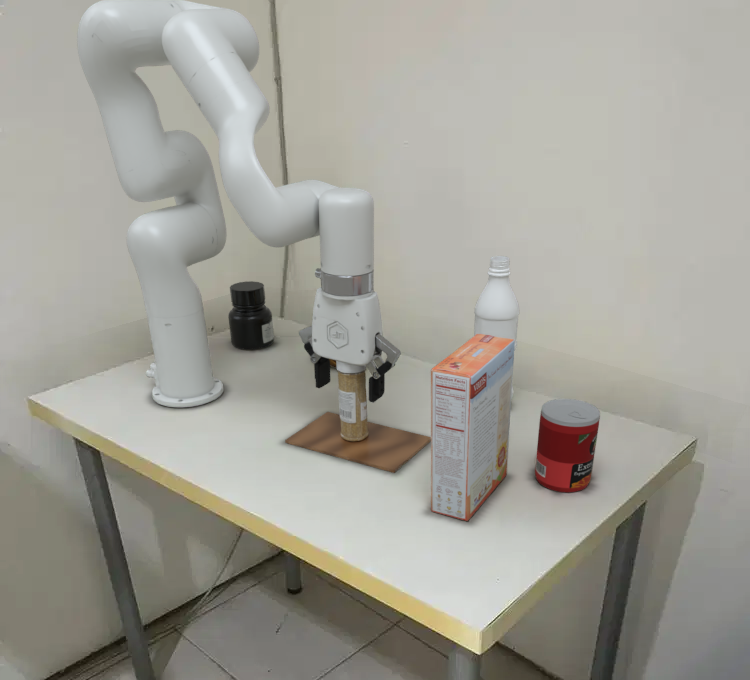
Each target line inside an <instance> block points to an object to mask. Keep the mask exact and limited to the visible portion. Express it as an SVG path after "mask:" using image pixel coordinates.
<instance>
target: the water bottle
mask: <svg viewBox="0 0 750 680" xmlns="http://www.w3.org/2000/svg"><path fill="white" fill-rule="evenodd" d="M510 262H511V261H510V257H509V256H504V255H494V256H491V257H490V259H489V268H488V271H487V275H488V278H487V282H486V285H485V286H484V288H483V289H482V291H481V292H480V294H479V297H477V298H478V299H477V300H476V302H475V306H474V312H473V313H474V325H473V336H475V335H476V334H484V335H490V336H494V337H501V338H508V339H514V340H515V346H514V352H515V351H516V349H517V348H518V347H517V346H518V340H517V339H518V328H519V327H518V326H519V325H518V324H519V315H520V305H519V301H518V299H517V296H516V294H515V292H514V290H513V288H512V285H511V282H510V276H511V273H512V272H511V271H510V270H511V268H510ZM513 396H514V387H513V385H512V395H511V401H512V399H513Z"/></svg>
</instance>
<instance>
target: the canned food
mask: <svg viewBox="0 0 750 680" xmlns="http://www.w3.org/2000/svg"><path fill="white" fill-rule="evenodd" d="M539 417H540V418H539V423H538V433H537V445H536V455H535V467H534V475H535V479H536V481H537V482H538V483H539V485H541V486H543V487H544V488H546V489H549V490H551V491H554V492H559V493H575V492H580V491H582V490H585V488H587V487H588V485H589V483H590V482H591V480H592V474H593V468H594V459H595V453H596V447H597V440H598V433H599V428H600V420H601V411H600V409H599V408H598V407H596V406H595V405H593V404H592V403H589V402H587V401H584V400H580V399H576V398H557V399H551V400H548V401H546V402H545V403H543V404H542V406H541V410H540V416H539Z"/></svg>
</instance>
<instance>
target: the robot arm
mask: <svg viewBox="0 0 750 680" xmlns="http://www.w3.org/2000/svg"><path fill="white" fill-rule="evenodd" d="M76 46H77V54H78V58H79V62H80V66H81V68H82V69H81V70H82V72H83V75H84V77H85V79H86V81H87V83H88V87H89V88H90V90H91V92H92V95H93V97H94V100H95V102H96V104H97V106H98V110H99V114H100V116H101V117H100V118H101V121H102V124H103V127H104V132H105V135H106V139H107V141H108V146H109V150H110V153H111V156H112V160H113V164H114V168H115V171H116V174H117V177H118V180H119V183H120V186H121V188H122V190H123V192H124V193H125V195H126V196H127V197H128V198H130V199H131V200H132V201H134V202H138V203H150V202H157V201H161V200H165V199H169V198H174V201H175V205H171V206H167V207H163V208H159V209H156V210H151V211H148V212H145V213H144V214H141V215H139V216H138V217H136V218H135V219H134V220H133V221H132V222H131V224H130V225H129V226H128V229H127V231H126V238H125V239H126V246H127V251H128V253H129V256H130V259H131V261H132V264H133V266H134V269H135V272H136V274H137V278H138V282H139V285H140V290H141V294H142V299H143V304H144V308H145V314H146V317H147V318H146V319H147V325H148V329H149V335H150V340H151V346H152V352H153V357H154V362H151V364H150V366H149V369H147V370H146V371H145V376H146V377H147V378H151V379H154V382H155V386H154V387H153V388H152V390H151V397H152V399H153V401H154V402H155V403H156V404H159V405H161V406H164V407H168V408H191V407H197V406H202V405H205V404H207V403H211V402H212V401H214V400H217V399H218V398H220V397H221V395H222V394H224V393H223V392H224V383H223V381H222V380H220V379H219V378H218V377H215V376H214V373H213V368H212V366H213V365H212V360H211V352H210V346H209V340H208V333H207V324H206V318H205V312H204V304H203V298H202V293H201V291H200V288H199V286H198V284H197V283H196V281H195V280H194V278H192V276H191V274H190V272H189V270H188V267H190V266H192V265H196V264H197V263H202V262H204V261H206V260H210V259H211V258H215V257H216V256H218V255H219V254H220V253H222V251H223V249H224V247H225V246H226V243H227V236H228V235H227V223H226V219H225V213H224V210H223V206H222V200H221V196H220V191H219V188H218V184H217V183H218V182H217V178H216V173H215V170H214V166H213V162H212V159H211V156H210V154H209V152H208V150H207V148H206V146H205V145H204V144H203V142H202V141H201V140H200V139H199V138H198V137H197V136H196V135H194V134H193V133H191V132H189V131H186V130H180V129H175V130H173V129H172V130H167V131H165V129H164V126H163V124H162V120H161V116H160V113H159V112H160V111H159V107H158V103H157V101H156V99H155V97H154V95H153V93H152V92H151V90H150V88H149V87H148V85H147V84H146V83H145V81H144V80H143V79H142V78H141V77H140V76H139V75H138V74H137V73H136V70H137V69H138V68H144V67H145V68H146V67H163V66H171V68H172V69H173V71H174V72H175V74H176V76H177V77H178V78H179V80H180V82H181V83H182V85H183V86H184V88H185V89H186V91H187V92H188V94H189V95H190V97H191V98H192V100H193V101H194V103H195V104H196V106H197V108H198V109H199V111H200V112H201V114H202V115H203V116H204V118H205V121H207V123H208V124H209V126H210V127H211V129H212V130H213V132H214V133H215V135H216V137H217V139H218V164H219V171H220V176H221V180H222V185H223V188H224V191H225V193H226V196H227V198H228V199H229V202H230V203H231V204H232V206H233V208H234V209H235V210H236V213H237V214H238V215H239V217H240V219H241V220H242V221H243V223H244V224H245V226H246V227H247V228H248V229H249V231H250V233H252V235H254V236H255V238H257V240H259V241H260V242H261V243H262V244H264V245H266V246H268V247H271V248H283V247H287V246H291V245H294V244H296V243H299V242H302V241H304V240H308V239H312V238H316V237H319V254H320V255H319V256H320V257H319V259H320V268H319V267H318V268H316V269H315V271H314V276H315V277H316V278H317V279H320V287H318V288H317V289H316V292H315V296H314V302H313V308H312V319H311V322H312V324H311V325H309V326H307V327H304V328H302V329H300V330H299V331H298V335H299V337H300V339H301V342H302V344H303V349H304V350H305V351H306V354H308V356H309V359H310V362H311V363H312V364H313V368H314V369H313V370H314V380H315V388H316V389H322V388H323V387H325V386H326V385H328V384H330V383H331V366H330V360H329V359H332V360H336V361H340V362H344V363H348V364H353V365H357V366H365V365H366V370H368V371H369V374H370V375H371V376H369V378H368V401H369V402H370V403H376V402H377V401H378V400H380V399H381V398H382V397H383V395H384V394H385V388H386V387H385V384H386V383H385V379H386V377H385V374H387V373H388V372H389V371H390V370H391V369H393V368H394V367H395V366H396V363H397V361H398V360H399V358H400V357H401V354H402V351H401V350H400V349H399V348H398V347H397V346H395V345H394V344H393V343H392V342H391V341H389V340H388V339H387V338H385V337H384V336H383V335H384V334H383V333H384V332H383V319H382V311H381V305H380V299H379V294H378V292H377V291H375V283H374V282H375V201H374V198H373V196H372V194H371V193H370V192H369V191H368V190H366V189H362V188H358V187H340V186H337V185H334V184H331V183H329V182H325V181H323V180H319V179H303V180H301V181H296V182H292V183H287V184H284V185H280V186H275V185H274V183H273V182H272V181H271V179H270V178H269V176H268V174H267V173H266V171H265V170H264V168H263V166H262V164H261V162H260V161H259V158H258V155H257V152H256V149H255V135H256V134H258V132H259V131H260V130H261V129H262V128H263V126H265V123H266V122H267V120H268V118H269V115H270V109H271V108H270V102H269V101H268V99H267V97H266V96H265V94H264V93H263V91H262V90H261V88H260V87H259V85H258V83H257V82H256V81H255V79H254V77H253V76H252V74H251V72H252V71H254V69H255V68H256V66H257V64H258V63H259V62H258V61H259V57H260V42H259V38H258V34H257V32H256V30H255V28H254V26H253V25H252V23H251V22H250V21H249V19H248V18H247V17H246V16H244V14H242V13H241V12H239V11H237V10H235V9H232V8H227V7H221V6H215V5H210V4H205V3H200V2H194V1H190V0H99V1H96V2H95V3H93V4H91V5H90V6H89V7H88V8H87V9H86V10H85V11H84V12H83V14H82V15H81V18H80V20H79V22H78V27H77V33H76ZM383 353H384V354H385V355H386V359H385V361H384V359H383V357H382V354H383Z"/></svg>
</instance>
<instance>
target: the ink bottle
mask: <svg viewBox="0 0 750 680" xmlns="http://www.w3.org/2000/svg"><path fill="white" fill-rule="evenodd" d="M229 292H230V293H229V294H230V301H231V305H232V306H233V307H232V308H231V310H230V311H229V312H228V315H227V317H228V325H229V332H230V333H229V334H230V341H231V345H232V346H233V347H234V348H236V349H239V350H246V351H247V350H248V351H249V350H251V351H252V350H258V349H265V348H268V347H270V346H271V345H272V344H273V343H274V342H275V341H274V340H275V335H274V323H273V313H272V310H271V309H270V308H269V307H268V306H267V305H265V304H266V291H265V284H264V283H263V282H260V281H247V280H246V281H239V282H236V283H233V284H231V285H230V286H229Z"/></svg>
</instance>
